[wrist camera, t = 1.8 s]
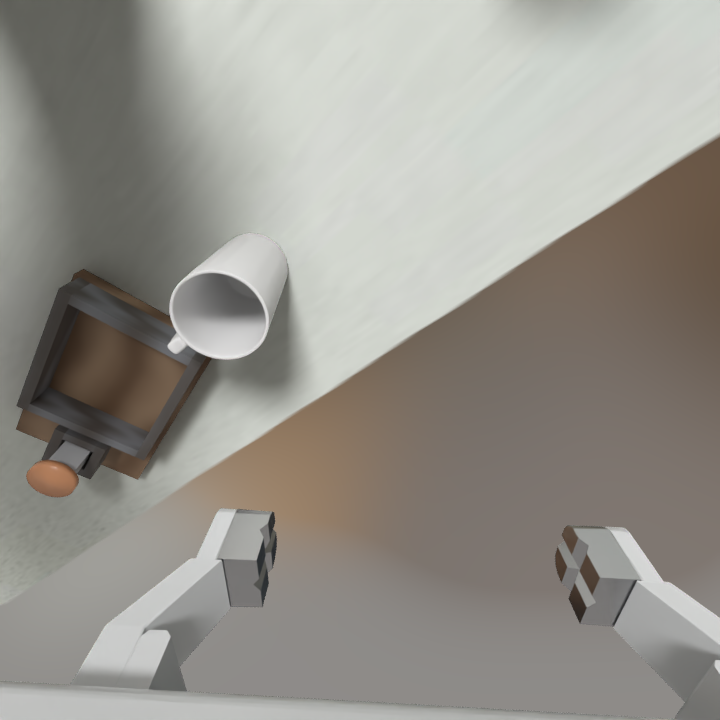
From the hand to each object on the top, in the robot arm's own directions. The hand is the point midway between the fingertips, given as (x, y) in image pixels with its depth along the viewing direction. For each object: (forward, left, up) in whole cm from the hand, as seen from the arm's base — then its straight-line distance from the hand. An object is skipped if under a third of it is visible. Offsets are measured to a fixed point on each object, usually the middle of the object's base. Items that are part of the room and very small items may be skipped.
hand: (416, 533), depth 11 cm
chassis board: (-14, -28, -30) cm, 44 cm away
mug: (-9, -9, -31) cm, 33 cm away
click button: (-14, -36, -27) cm, 47 cm away
